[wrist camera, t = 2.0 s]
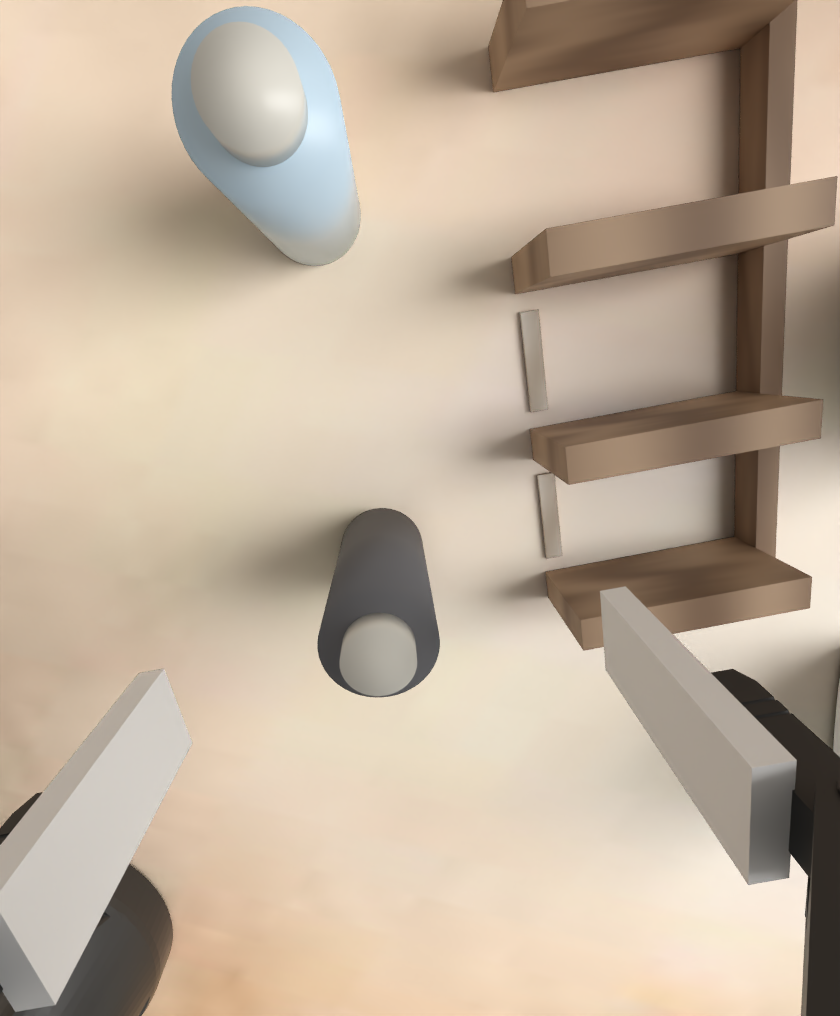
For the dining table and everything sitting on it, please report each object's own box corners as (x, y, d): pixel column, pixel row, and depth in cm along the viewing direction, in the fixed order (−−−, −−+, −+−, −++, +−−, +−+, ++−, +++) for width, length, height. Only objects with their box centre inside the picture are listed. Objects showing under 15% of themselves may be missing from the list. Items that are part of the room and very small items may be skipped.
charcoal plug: (351, 589, 26) (329, 727, 16) (334, 516, 24) (299, 618, 15) (428, 575, 26) (452, 704, 16) (414, 501, 25) (431, 593, 15)
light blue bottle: (276, 273, 21) (185, 205, 12) (251, 165, 20) (126, -9, 11) (369, 256, 21) (354, 174, 12) (349, 148, 20) (314, -41, 11)
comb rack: (549, 610, 27) (584, 665, 22) (485, 22, 19) (518, -88, 14) (752, 572, 27) (831, 619, 22) (767, -28, 19) (891, -155, 15)
